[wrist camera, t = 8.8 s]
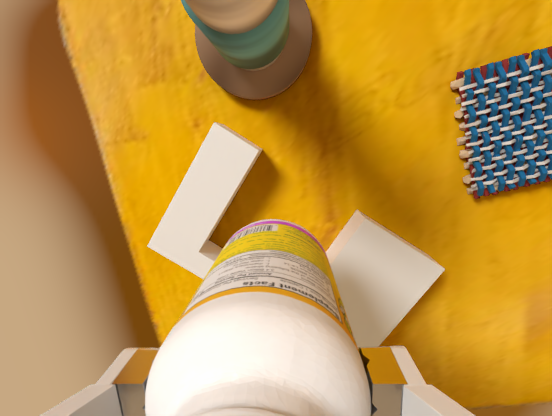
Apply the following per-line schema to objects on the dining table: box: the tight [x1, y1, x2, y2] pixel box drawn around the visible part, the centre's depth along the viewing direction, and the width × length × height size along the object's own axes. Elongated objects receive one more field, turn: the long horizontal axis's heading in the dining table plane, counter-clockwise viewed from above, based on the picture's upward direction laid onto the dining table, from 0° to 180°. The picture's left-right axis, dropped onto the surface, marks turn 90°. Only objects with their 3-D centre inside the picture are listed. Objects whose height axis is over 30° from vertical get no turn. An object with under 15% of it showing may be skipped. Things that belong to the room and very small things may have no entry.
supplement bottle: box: [145, 219, 371, 416], centre depth 11 cm, size 7×7×13 cm
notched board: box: [147, 122, 445, 349], centre depth 25 cm, size 22×12×3 cm, turn 58°
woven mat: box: [451, 46, 552, 199], centre depth 23 cm, size 10×11×2 cm
